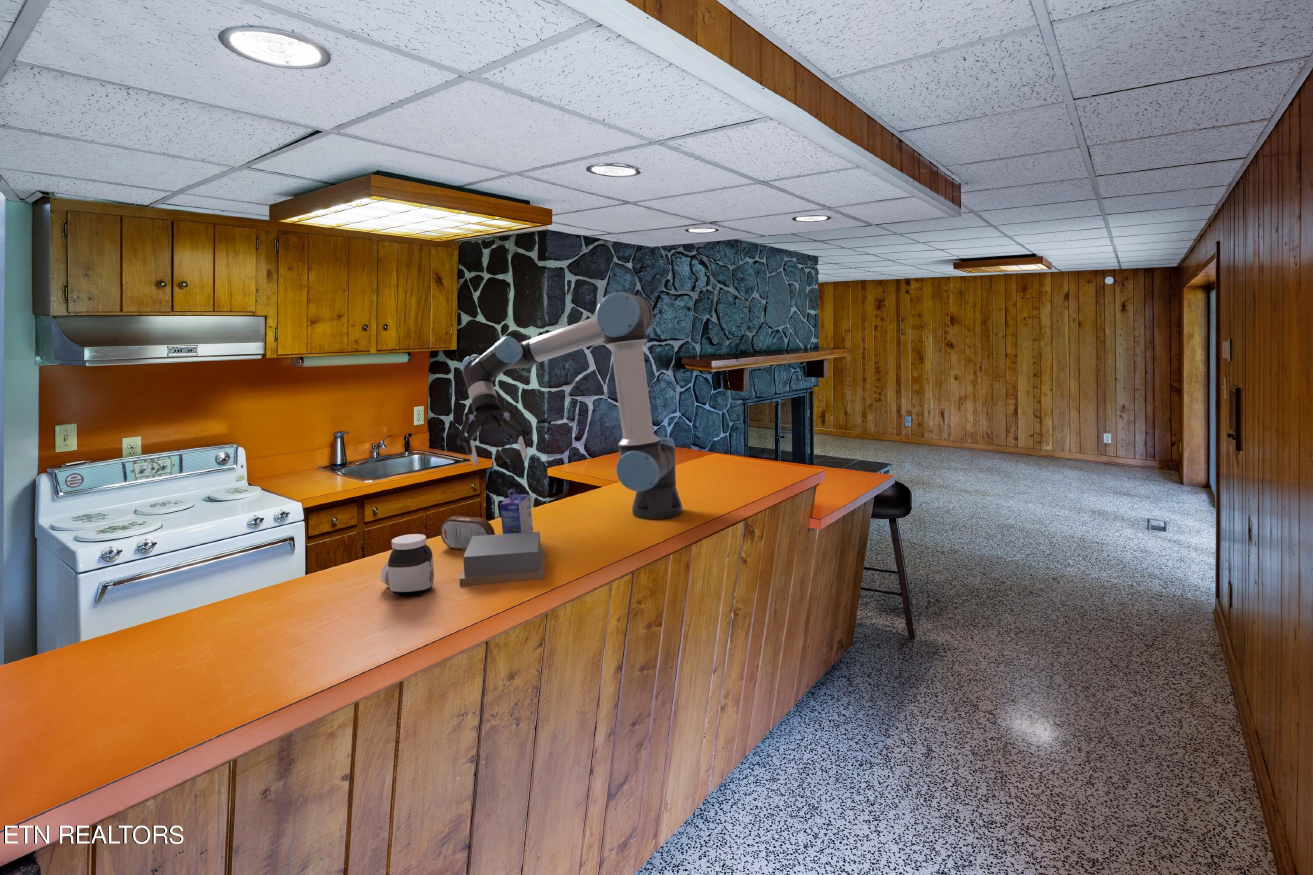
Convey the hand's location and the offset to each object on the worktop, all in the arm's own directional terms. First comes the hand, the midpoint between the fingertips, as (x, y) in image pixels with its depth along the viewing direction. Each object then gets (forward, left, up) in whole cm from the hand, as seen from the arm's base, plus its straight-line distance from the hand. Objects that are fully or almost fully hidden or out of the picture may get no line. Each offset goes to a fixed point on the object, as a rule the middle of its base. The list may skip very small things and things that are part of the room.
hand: (501, 460), depth 178 cm
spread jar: (+18, +38, -21) cm, 47 cm away
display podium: (-2, +29, -21) cm, 36 cm away
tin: (+9, +11, -21) cm, 25 cm away
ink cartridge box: (-4, +10, -21) cm, 24 cm away
